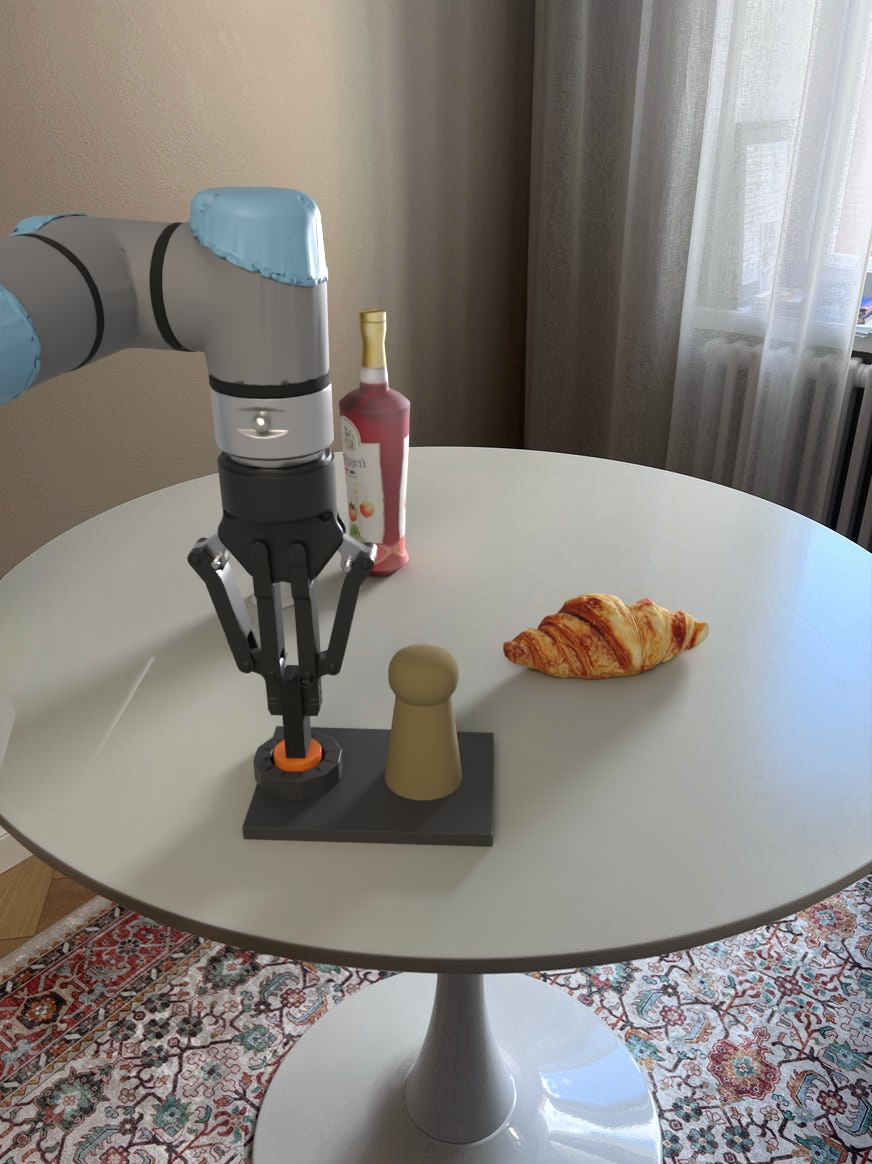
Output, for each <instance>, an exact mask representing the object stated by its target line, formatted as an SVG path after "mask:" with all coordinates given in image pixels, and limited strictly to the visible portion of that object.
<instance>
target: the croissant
mask: <svg viewBox="0 0 872 1164" xmlns="http://www.w3.org/2000/svg"><path fill="white" fill-rule="evenodd" d="M710 628H711V627H710V625H709V624H708V622H707V621H698V619H697V618H695V617H693V616H691V614H689V613H687V612H686V611H684V610H681V609H680V610H678V611H673V612H672V611H670V610H669V609H667V608H665V607H661V606H659V605H658V604H657V603H656V602H653V600H651V599H650V598H648V597H645V598H642V599H639V600H637V601H635V602H634V603H631V604H626V603H624V602H623V601H622V600H621V599H620V598H619V597H617V596H615V595H612V594H610V593H596V592H591V593H582V594H580V595H578V596H576V597H573V598H571V599H568V600H566V601H564V603H563V605H562V607H561V608H560V609H559V610H558V611H557V612H556V613H553V614H548V615H546V616H544V617H543V618H542V619H541V621H540V623H539V625H538V626H537V629H536V628H533V627H530V628H527V629H526V630H524V631H521V632H520V633H519V634H517V635H516V636H515V637H514V638H512V640H507V641H506V642H503V643H502V644H503V645H502V650H503V651H502V652H503V655H504V657H505V658H507V660H508V661H509V662H511V663H512V664H514V665H519V666H522V667H526V668H531V669H532V670H537V671H540V672H541V673H543V674H545V675H548V676H552V677H558V678H560V679H565V678H582V679H586V680H587V679H588V680H600V679H603V680H604V679H608V678H613V677H627V676H633V675H637V674H640V673H644V672H646V671H649V670H650V669H652V668H654V667H656V666H657V665H659V664H660V663H664V662H665V663H666V662H668V661H670V660H672V659H674V658H676V657H677V656H678V655H680V654H681V653H682V652H684V651H690V650H692V649H694V648H696V647H697V646H699V645H700V644H702V643H703V642H704V641H705V640H706V638H707V637H708V636H709V632H710Z"/></svg>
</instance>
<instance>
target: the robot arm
mask: <svg viewBox="0 0 872 1164" xmlns="http://www.w3.org/2000/svg"><path fill="white" fill-rule="evenodd" d="M321 218H322V217H321V212H320V209H319V207H318V204H317V203H316V201H315V200H314V199H313V198H312V197H311V196H310V195H309V194H307V193H306V192H303V191H301V190H297V189H292V188H288V187H287V188H286V187H276V186H275V187H274V186H254V187H252V186H219V187H211V188H205V189H202V190H199V191H197V192H196V193H195V194H194V195H193V197H192V199H191V201H190V217H189V219H188V221H185V222H183V221H179V222H178V221H175V222H167V221H156V220H155V221H154V220H144V219H143V220H142V219H141V220H140V219H127V218H114V217H101V216H89V215H88V214H87V213H80V212H71V213H66V214H55V215H32V216H29V217H27V218H24V219H21V220H20V221H19V222H18V223H17V224H16V225H15V227H14V230H13V232H12V233H11V234H9V235H8V236H5V237H0V406H2V405H5V404H8V403H11V402H12V401H14V400H15V399H16V398H19V397H21V396H22V395H24V393H25V392H28V391H29V390H31V389H34V388H36V387H38V386H40V385H42V384H45V383H47V382H49V381H51V380H53V379H56V378H57V377H60V376H62V375H64V374H67V373H70V372H73V371H77V370H79V369H82V368H85V367H87V366H88V365H92V364H93V363H96V362H99V361H100V360H102V359H105V358H107V357H110V356H112V355H114V354H116V353H119V352H121V351H123V350H127V349H148V350H149V349H151V350H161V351H176V352H184V353H185V352H186V353H196V352H198V353H200V352H201V353H204V357H205V362H206V368H207V374H208V384H209V394H210V403H211V412H212V420H213V430H214V438H215V444H216V446H217V447H218V448H219V449H220V450H221V453H220V454H219V455H218V457H217V460H216V461H217V468H218V469H217V470H218V471H217V472H218V480H219V481H218V482H219V489H220V498H221V507H222V517H221V520H220V522H219V524H218V525H217V532H216V533H214V534H212V535H211V536H210V537H200V538H198V540H197V541H196V542H195V543H194V545H193V547H192V548H191V550H190V552H189V553H188V554H187V557H186V559H187V563H188V564H189V566H190V567H191V568H192V569H193V571H194V572H195V573H196V574H197V576H198V577H199V578H200V579H201V580H202V581H203V582H204V585H205V586H206V590H207V592H208V594H209V596H210V600H211V602H212V605H213V607H214V610H215V612H216V615H217V618H218V621H219V624H220V626H221V628H222V630H223V634H224V636H225V639H226V641H227V644H228V646H229V649H230V651H231V654H232V657H233V659H234V662H235V665H236V667H237V669H238V671H240V672H241V673H243V674H251V673H254V674H258V675H260V676H261V677H262V678H263V680H264V681H265V691H266V692H265V693H266V702H267V710H268V712H269V714H270V715H271V716H282V726H283V730H284V742H285V754H286V758H306V755H307V752H308V748H309V745H310V741H311V727H312V726H311V717H318V716H319V713H320V711H321V708H322V704H323V687H322V686H323V685H322V684H323V683H322V677H324V676H326V675H329V676H337V675H338V674H340V672H341V670H342V667H343V662H344V659H345V654H346V650H347V646H348V643H349V638H350V633H351V629H352V625H353V620H354V616H355V612H356V609H357V608H356V607H357V604H358V599H359V595H360V592H361V591H360V590H361V586H362V585H363V584H364V582H365V581H366V580H367V578H368V577H369V576H368V575H369V574H370V572H371V571H372V570H373V568H374V565H375V561H376V557H377V553H378V548H377V546H376V545H375V544H374V543H372V542H366V543H364V544H362V543H361V542H359V541H357V540H356V539H354V538H353V537H351V536H350V534H348V533H347V528H346V524H345V522H344V520H343V518H342V517H341V515H340V513H339V509H338V501H337V499H338V498H337V497H338V496H337V479H336V477H337V476H336V459H335V458H336V457H335V452H334V451H333V450H332V449H331V448H330V446H331V445H332V444H333V442H334V440H335V435H334V433H335V431H334V414H333V413H334V411H333V409H334V408H333V393H332V392H333V389H332V388H333V387H332V381H331V370H330V345H329V344H330V342H329V312H328V311H329V309H328V281H329V269H328V267H327V265H326V256H325V255H326V254H325V246H324V240H323V239H324V238H323V228H322V219H321ZM337 552H339V554H340V556H341V559H340V563H339V565H340V568H341V570H342V571H343V572H345V576H344V578H343V582H342V586H341V589H340V594H339V597H338V601H337V606H336V611H335V616H334V620H333V624H332V629H331V634H330V637H329V642H328V648H327V649H325V650H322V649H321V636H320V620H319V619H320V618H319V617H320V616H319V604H318V588H317V582H318V576H319V575H320V574H321V573H322V571H323V570H324V569H325V568H326V566H327V565H328V563H329V562H330V561H331V559H332V558H333V557H334V556H335V554H336V553H337ZM230 554H231V556H233V557H234V559H235V560H236V561H237V562H238V563H239V564H240V566H241V567H242V568H243V569H244V570H245V571H246V572H247V574H248V575H249V576H251V577H252V586H253V594H254V596H255V597H256V601H257V606H256V611H257V622H258V623H257V624H258V632H259V640H258V637H257V635H256V632H255V628H254V626H253V624H252V621H251V618H250V616H249V613H248V610H247V607H246V605H245V602H244V599H243V597H242V594H241V592H240V589H239V585H238V583H237V580H236V578H235V575H234V572H233V570H232V568H231V565H230V563H229V562H228V561H229V559H230ZM280 582H287V583H291V593H292V598H293V600H294V604H293V610H294V623H295V636H296V650H297V664H286V661H287V658H288V656H289V655H288V654H289V653H288V652H286V641H285V628H284V627H285V626H284V615H283V608H282V600H281V587H280Z"/></svg>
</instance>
